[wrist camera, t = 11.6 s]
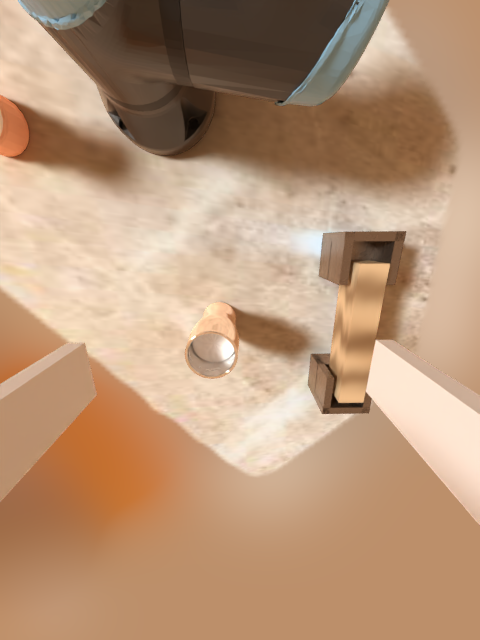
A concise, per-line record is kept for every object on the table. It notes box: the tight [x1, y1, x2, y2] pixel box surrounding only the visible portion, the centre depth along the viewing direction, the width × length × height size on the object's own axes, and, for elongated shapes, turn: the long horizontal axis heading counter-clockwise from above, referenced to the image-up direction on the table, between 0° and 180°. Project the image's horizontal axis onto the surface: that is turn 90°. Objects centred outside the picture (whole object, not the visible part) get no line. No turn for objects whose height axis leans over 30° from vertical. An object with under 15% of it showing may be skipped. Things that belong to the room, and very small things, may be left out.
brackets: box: [308, 231, 406, 414], centre depth 40 cm, size 29×8×8 cm, turn 0°
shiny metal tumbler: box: [185, 302, 239, 379], centre depth 36 cm, size 7×7×15 cm
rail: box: [329, 260, 390, 403], centre depth 38 cm, size 22×4×6 cm, turn 0°
